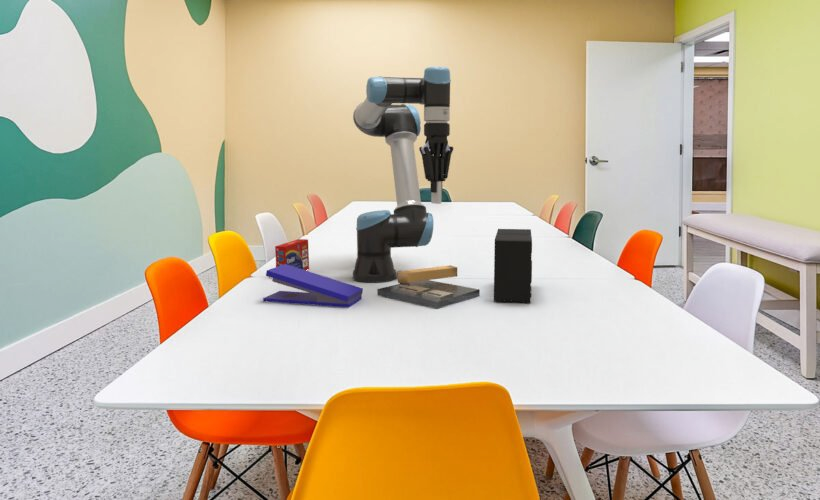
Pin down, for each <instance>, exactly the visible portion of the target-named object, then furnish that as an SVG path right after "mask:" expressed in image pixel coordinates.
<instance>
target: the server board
mask: <svg viewBox="0 0 820 500" xmlns="http://www.w3.org/2000/svg"><path fill="white" fill-rule="evenodd" d="M376 291H377V294H376V295H377V297H378V296H379V297H383V298H388V299H392V300H397V301H401V302H406V303H410V304H414V305H418V306H419V305H420V306H424V307H428V308H431V309H432V308H433V309H437V310H438V309H440V308H444V307H448V306H452V305H455V304H457V303H461V302H464V301H468V300H471V299H475V298H477V297H480V295H481V294H480V289H479V288H473V287H468V286H462V285H457V284H452V283H451V284H450V283H445V282H441V281H435V280H425V281H417V282H411V283H405V284H403V283H397V284H393V285H389V286H384V287H381V288H377V290H376Z"/></svg>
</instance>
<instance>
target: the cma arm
mask: <svg viewBox="0 0 820 500" xmlns="http://www.w3.org/2000/svg"><path fill="white" fill-rule="evenodd" d="M456 277H458V267H457V266H453V265H442V266H434V267H424V268H416V269H415V268H414V269H409V270H408V269H407V270H400V271H398V272H397V284H399V283H403V284H405V283H411V282H417V281H425V280H431V281H434V280H438V279H439V280H440V279H441V280H442V279H447V278H448V279H449V278H456Z"/></svg>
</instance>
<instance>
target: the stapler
mask: <svg viewBox="0 0 820 500" xmlns="http://www.w3.org/2000/svg"><path fill="white" fill-rule="evenodd" d="M265 276H266V277H270V278H271V279H272V280H271V282H273V283H276V284H279V285H283V286H286V287H290V288H293V289H297V290H300V291H292V290H291V291H290V290H289V291H288V290H279V291H277V292H273V293H272V294H270V295H268V296H265V297H263V298H262V299H263V300H262V301H263V302H266V301H268V302H270V303H282V304H294V305H295V304H296V305H311V306H321V307H323V306H324V307H337V308H338V307H339V308H350V307H352V306H354V305H356V304H358V302H360V301H361V300H362V299H363V297H362V294H363V291H364V288H363V287H359V286H356V285H353V284H350V283H347V282H343V281H340V280H338V279H334V278H331V277H328V276H325V275H321V274H319V273H315V272H312V271H309V270H307V271H306V270H303V269H300V268H296V267H293V266H290V265H287V264H284V265H281V266H278V267H276V266H275V267H273V268H270V269H267V270H266V272H265Z"/></svg>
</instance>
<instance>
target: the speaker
mask: <svg viewBox="0 0 820 500" xmlns="http://www.w3.org/2000/svg"><path fill="white" fill-rule="evenodd" d="M531 229H532V228H531ZM531 229H530V228H529V229H528V228H527V229H526V228H525V229H524V228H498V229H497V231H496V234H495V237H494V257H493V258H494V259H493V260H494V263H493V264H494V265H493V267H494V269H493V302H496V303H500V302H503V303H504V302H507V303H508V302H509V303H510V302H511V303H524V304H529V303H531V298H532V282H533V281H532V280H533V272H532V271H533V260H532V253H533V240H532V239H533V238H532V230H531Z"/></svg>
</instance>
